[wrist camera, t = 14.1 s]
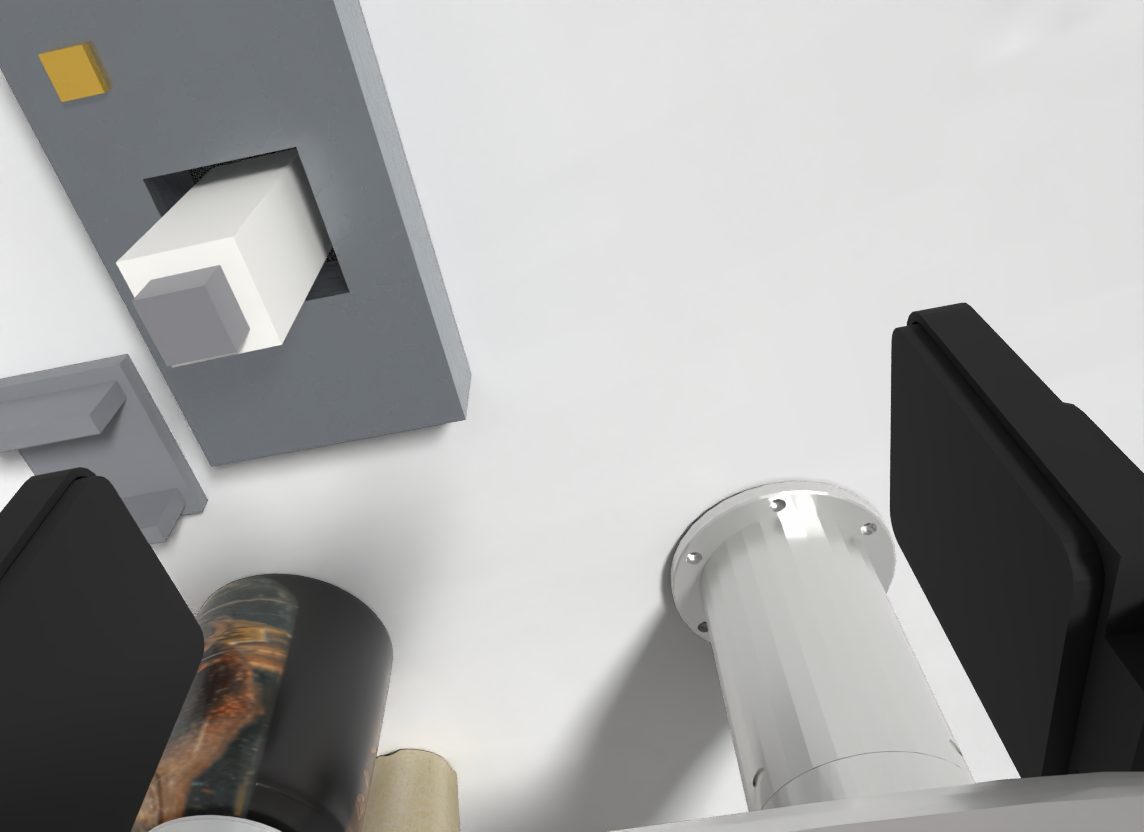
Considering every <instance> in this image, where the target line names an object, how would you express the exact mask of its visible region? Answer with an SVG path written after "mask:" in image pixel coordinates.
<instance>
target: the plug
mask: <svg viewBox="0 0 1144 832" xmlns="http://www.w3.org/2000/svg"><path fill="white" fill-rule="evenodd" d="M332 246H333V245H332V243H331V240H330V237H329V235H328V232H327V229H326V226H325V224H324V221H323V218H322V216H321V213H320V210H319V207H318V205H317V202H316V199H315V197H314V194H313V191H312V188H311V186H310V183H309V180H308V178H307V175H306V172H305V169H304V167H303V164H302V161H301V159H300V156H299V153H298V150H297V148H296V149H292V150H288V151H283V152H279V153H274V154H270V155H266V156H261V157H257V158H252V159H248V160H244V161H239V162H235V163H231V164H226V165H222V166H217V167H213V168H212V169H211V170H210V171H209V172H208V173H207V174H206V175H205V176H204V177H203V178H202V179H201V180H200V181H199V182H197V183H196V184H195V185H194V186H193V187H192V188H191V189H190V190H189V191H188V192H187V193H186V194H185V195H184V196H183V197H182V198H181V199H180V200H179V201H178V202H177V203H176V204H175V205H174V206H173V207H172V208H171V209H170V210H169V211H168V212H167V213H166V214H165V215H164V216H163V217H162V218H161V219H160V220H159V221H158V222H157V223H156V224H155V225H154V226H153V227H152V228H151V229H150V230H149V231H147V232H146V233H145V234H144V235H143V236H142V237H141V238H140V239H139V240H138V241H137V242H136V243H135V244H134V245H133V246H132V247H131V248H130V249H129V250H128V251H127V252H126V253H125V254H124V255H123V256H122V257H121V258H120V259H119V260H118V261H117V262H116V264H117V266H118V268H119V270H120V271H121V273H122V275H123V277H124V279H125V281H126V283H127V284H128V286H129V288H130V290H131V292H132V294H133V296H134V297H135V298H134V299H133V300H132V303H133V305H134V307H135V309H136V310H137V312H138V314H139V316H140V318H141V320H142V321H143V323H144V325H145V327H146V329H147V331H148V332H149V334H150V336H151V338H152V340H153V342H154V344H155V345H156V347H157V349H158V351H159V353H160V355H161V356H162V358H163V360H164V362H165V364H166V366H172V368H173V367H178V366H182V365H187V364H192V363H197V362H202V361H206V360H211V359H216V358H221V357H226V356H230V355H235V354H240V353H245V352H250V351H254V350H259V349H264V348H269V347H273V346H278V345H282V343H283V342H284V340H285V338H286V336H287V334H288V332H289V330H290V328H291V326H292V324H293V322H294V320H295V318H296V316H297V314H298V312H299V310H300V308H301V306H302V305H303V303H304V301H305V299H306V297H307V295H308V293H309V291H310V289H311V287H312V285H313V283H314V281H315V279H316V277H317V275H318V273H319V271H320V270H321V268H322V266H323V264H324V262H325V260H326V258H327V256H328V254H329V252H330V250H331V248H332Z"/></svg>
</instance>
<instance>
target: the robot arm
mask: <svg viewBox="0 0 1144 832" xmlns="http://www.w3.org/2000/svg"><path fill="white" fill-rule="evenodd" d="M890 517H891V523H892V527H893V531H894V534H895V537H896V540H897V542H898V544H899V546H900V548H901V550H902V552H903V553H904V555H905V557H906V559H907V561H908V563H909V565H910V567H911V569H912V571H913V573H914V574H915V576H916V578H917V580H918V582H919V584H920V586H921V588H922V590H923V592H924V594H925V595H926V597H927V599H928V601H929V603H930V605H931V607H932V609H933V611H934V613H935V615H936V616H937V618H938V620H939V622H940V624H941V626H942V628H943V630H944V632H945V634H946V635H947V637H948V639H949V641H950V643H951V645H952V647H953V649H954V651H955V653H956V655H957V656H958V658H959V660H960V662H961V664H962V666H963V668H964V670H965V672H966V674H967V676H968V677H969V679H970V681H971V683H972V685H973V687H974V689H975V691H976V693H977V695H978V697H979V698H980V700H981V702H982V704H983V706H984V708H985V710H986V712H987V714H988V716H989V718H990V719H991V721H992V723H993V725H994V727H995V729H996V731H997V733H998V735H999V737H1000V738H1001V740H1002V742H1003V744H1004V746H1005V748H1006V750H1007V752H1008V754H1009V756H1010V758H1011V759H1012V761H1013V763H1014V765H1015V767H1016V769H1017V771H1018V773H1019V775H1020V777H1021V778H1019V779H1006V780H996V781H988V782H980V783H975V781H974V779H973V777H972V775H971V772H970V770H969V768H968V766H967V764H966V762H965V760H964V758H963V755H962V753H961V751H960V749H959V747H958V745H957V743H956V741H955V739H954V736H953V734H952V732H951V730H950V728H949V726H948V724H947V722H946V719H945V717H944V715H943V713H942V711H941V709H940V707H939V705H938V703H937V700H936V698H935V696H934V694H933V692H932V690H931V688H930V686H929V683H928V681H927V679H926V677H925V675H924V673H923V671H922V669H921V667H920V664H919V662H918V660H917V658H916V656H915V654H914V652H913V650H912V647H911V645H910V643H909V641H908V639H907V637H906V635H905V633H904V631H903V628H902V626H901V624H900V622H899V620H898V618H897V616H896V614H895V612H894V609H893V607H892V605H891V603H890V601H889V599H888V597H887V595H886V593H887V592H888V589H889V587H890V584H891V582H892V579H893V577H894V572H895V565H896V554H895V545H894V543H893V540H892V538H891V535H890V533H889V530H888V529H887V527H886V525H885V524H884V522H883V520H882V518H881V517H880V515H879V514H878V513H877V512H876V511H875V510H874V509H873V508H872V507H871V506H870V505H869V504H868V503H867V502H866V501H865V500H863V499H861V498H860V497H858V496H857V495H855V494H853V493H852V492H849V491H847V490H844V489H841V488H838V487H836V486H833V485H828V484H822V483H817V482H800V481H789V482H781V483H774V484H767V485H764V486H760V487H757V488H753V489H750V490H746V491H744V492H742V493H739V494H737V495H735V496H733V497H731V498H728V499H726V500H724V501H723V502H721V503H720V504H718V505H717V506H715V507H714V508H712V509H711V510H709V511H707V512H706V513H705V514H704V515H703V516H702V517H701V518H700V519H699V520H698V521H696V522H695V523H694V524H693V525H692V526H691V528H690V529H689V530H688V532H687V533H686V534H685V536H684V537H683V538H682V540H681V541H680V544H679V546H678V548H677V550H676V552H675V554H674V557H673V562H672V566H671V571H670V574H671V589H672V593H673V598H674V603H675V606H676V608H677V610H678V612H679V614H680V616H681V618H682V619H683V621H684V622H685V623H686V624H687V625H688V627H689V628H690V629H691V630H692V631H693V632H695V633H696V634H697V635H699V636H700V637H701V638H703V639H704V640H706V641H708V642H710V643H711V645H712V649H713V654H714V658H715V663H716V667H717V672H718V676H719V681H720V685H721V690H722V694H723V699H724V703H725V708H726V712H727V717H728V721H729V726H730V730H731V735H732V739H733V744H734V748H735V753H736V757H737V762H738V766H739V771H740V775H741V780H742V784H743V789H744V793H745V798H746V802H747V807H748V811H749V812H745V813H738V814H731V815H723V816H716V817H709V818H702V819H695V820H688V821H680V822H673V823H666V824H659V825H652V826H645V827H637V828H630V829H623V830H616V831H609V832H1144V473H1143V472H1142V471H1141V470H1140V469H1139V468H1138V467H1137V466H1136V465H1135V464H1134V463H1133V462H1132V461H1131V460H1130V459H1129V458H1128V457H1127V456H1126V455H1125V454H1124V453H1123V452H1122V451H1121V450H1120V449H1119V448H1118V447H1117V446H1116V445H1115V444H1114V443H1113V442H1112V441H1111V440H1110V438H1109V437H1108V436H1107V435H1106V434H1105V433H1104V432H1103V431H1102V430H1101V429H1100V428H1099V427H1098V426H1097V425H1096V424H1095V423H1094V422H1093V421H1092V420H1091V419H1090V418H1089V417H1088V416H1087V415H1086V414H1085V413H1084V412H1083V411H1082V410H1080V409H1079V408H1078V407H1076V406H1075V405H1074V404H1069V403H1064V402H1062V401H1061V400H1060V399H1059V398H1058V397H1057V396H1056V395H1055V394H1054V393H1053V392H1052V391H1051V390H1050V388H1049V387H1048V386H1047V385H1046V384H1045V383H1044V382H1043V381H1042V380H1041V379H1040V378H1039V377H1038V376H1037V375H1036V374H1035V373H1034V372H1033V371H1032V370H1031V369H1030V368H1029V367H1028V365H1027V364H1026V363H1025V362H1024V361H1023V360H1022V359H1021V358H1020V357H1019V356H1018V355H1017V354H1016V353H1015V352H1014V351H1013V350H1012V349H1011V348H1010V347H1009V346H1008V345H1007V344H1006V343H1005V341H1004V340H1003V339H1002V338H1001V337H1000V336H999V335H998V334H997V333H996V332H995V331H994V330H993V329H992V328H991V327H990V326H989V325H988V324H987V323H986V322H985V321H984V320H983V319H982V317H981V316H980V315H979V314H978V313H977V312H976V311H975V310H974V309H973V308H972V307H971V306H970V305H968V304H967V303H958V304H953V305H947V306H942V307H936V308H931V309H926V310H920V311H915V312H912V313H911V314H910V315H909V318H908V321H907V326H904V327H899V328H895V330H894V331H893V334H892V352H891V449H890ZM204 646H205V645H204V636H203V632H202V630H201V627H200V625H199V624H198V622H197V621H196V619H195V617H194V616H193V614H192V612H191V611H190V609H189V608H188V606H187V604H186V603H185V601H184V599H183V598H182V596H181V595H180V593H179V591H178V590H177V588H176V587H175V585H174V583H173V582H172V580H171V578H170V577H169V575H168V574H167V572H166V570H165V569H164V567H163V566H162V564H161V562H160V561H159V559H158V557H157V556H156V554H155V553H154V551H153V549H152V548H151V546H150V544H149V543H148V541H147V540H146V538H145V536H144V535H143V533H142V532H141V530H140V528H139V527H138V525H137V523H136V522H135V520H134V519H133V517H132V515H131V514H130V512H129V510H128V509H127V507H126V506H125V504H124V502H123V501H122V499H121V498H120V496H119V494H118V493H117V491H116V489H115V488H114V486H113V485H112V484H111V482H110V481H109V480H108V479H106V478H105V477H102V476H96V474H95V473H94V472H92V471H91V470H89V469H88V468H83V467H78V468H72V469H67V470H62V471H56V472H51V473H45V474H40V475H36V476H32V477H31V478H29V479H28V480H27V481H26V482H25V483H24V484H23V485H22V486H21V488H20V489H19V490H18V491H17V493H16V494H15V495H14V496H13V498H12V499H11V500H10V501H9V503H8V504H7V505H6V506H5V507H4V509H3V510H2V511H1V512H0V832H131V830H132V827H133V825H134V823H135V820H136V818H137V815H138V813H139V811H140V808H141V806H142V803H143V801H144V798H145V796H146V794H147V791H148V789H149V786H150V784H151V781H152V779H153V777H154V774H155V772H156V769H157V767H158V765H159V762H160V760H161V757H162V755H163V752H164V750H165V748H166V745H167V743H168V740H169V738H170V736H171V733H172V731H173V728H174V726H175V723H176V721H177V719H178V716H179V714H180V711H181V709H182V707H183V704H184V702H185V699H186V697H187V694H188V692H189V690H190V687H191V685H192V682H193V680H194V677H195V675H196V673H197V670H198V668H199V665H200V663H201V661H202V658H203V654H204Z"/></svg>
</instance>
